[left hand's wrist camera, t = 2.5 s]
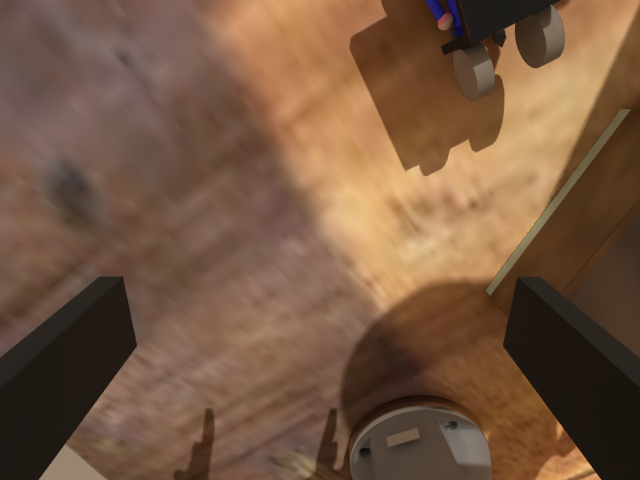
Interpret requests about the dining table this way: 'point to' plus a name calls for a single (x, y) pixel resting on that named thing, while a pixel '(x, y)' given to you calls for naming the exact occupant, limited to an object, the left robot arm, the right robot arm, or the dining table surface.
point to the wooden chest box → (590, 237)
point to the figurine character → (497, 36)
